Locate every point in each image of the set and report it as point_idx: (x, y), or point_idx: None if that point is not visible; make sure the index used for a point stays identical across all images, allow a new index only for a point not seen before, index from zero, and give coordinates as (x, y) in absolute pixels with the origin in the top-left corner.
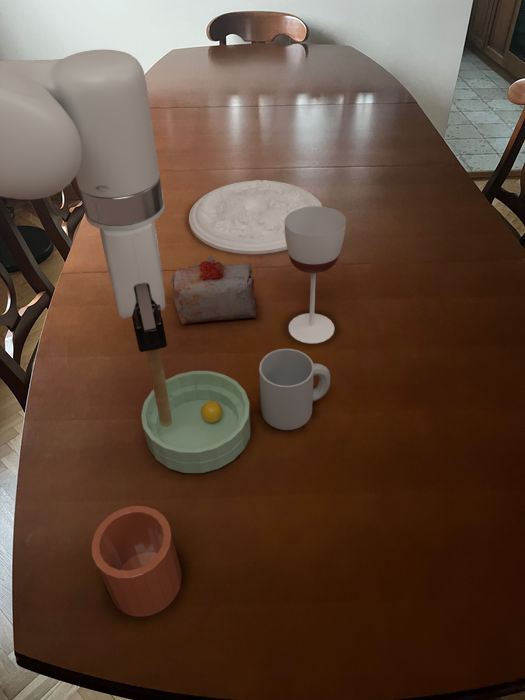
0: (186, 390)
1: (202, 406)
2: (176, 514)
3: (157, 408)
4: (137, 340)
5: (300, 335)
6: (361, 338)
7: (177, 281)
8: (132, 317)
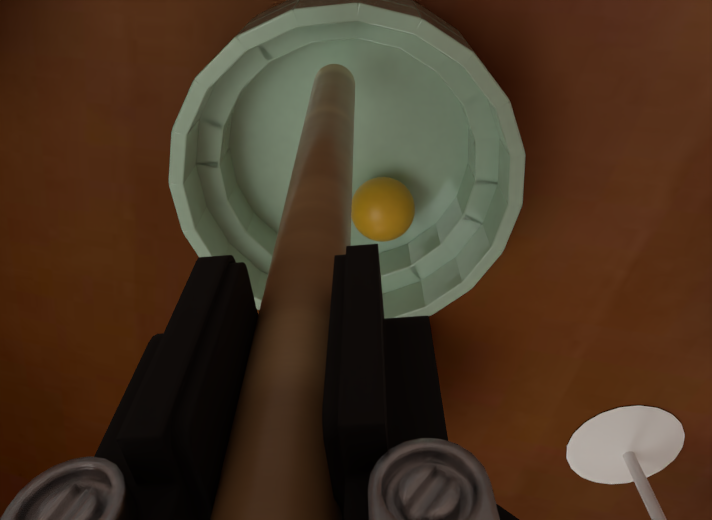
0: (480, 153)
1: (395, 194)
2: (76, 59)
3: (324, 89)
4: (170, 320)
5: (608, 425)
6: (542, 513)
7: None
8: (343, 378)
